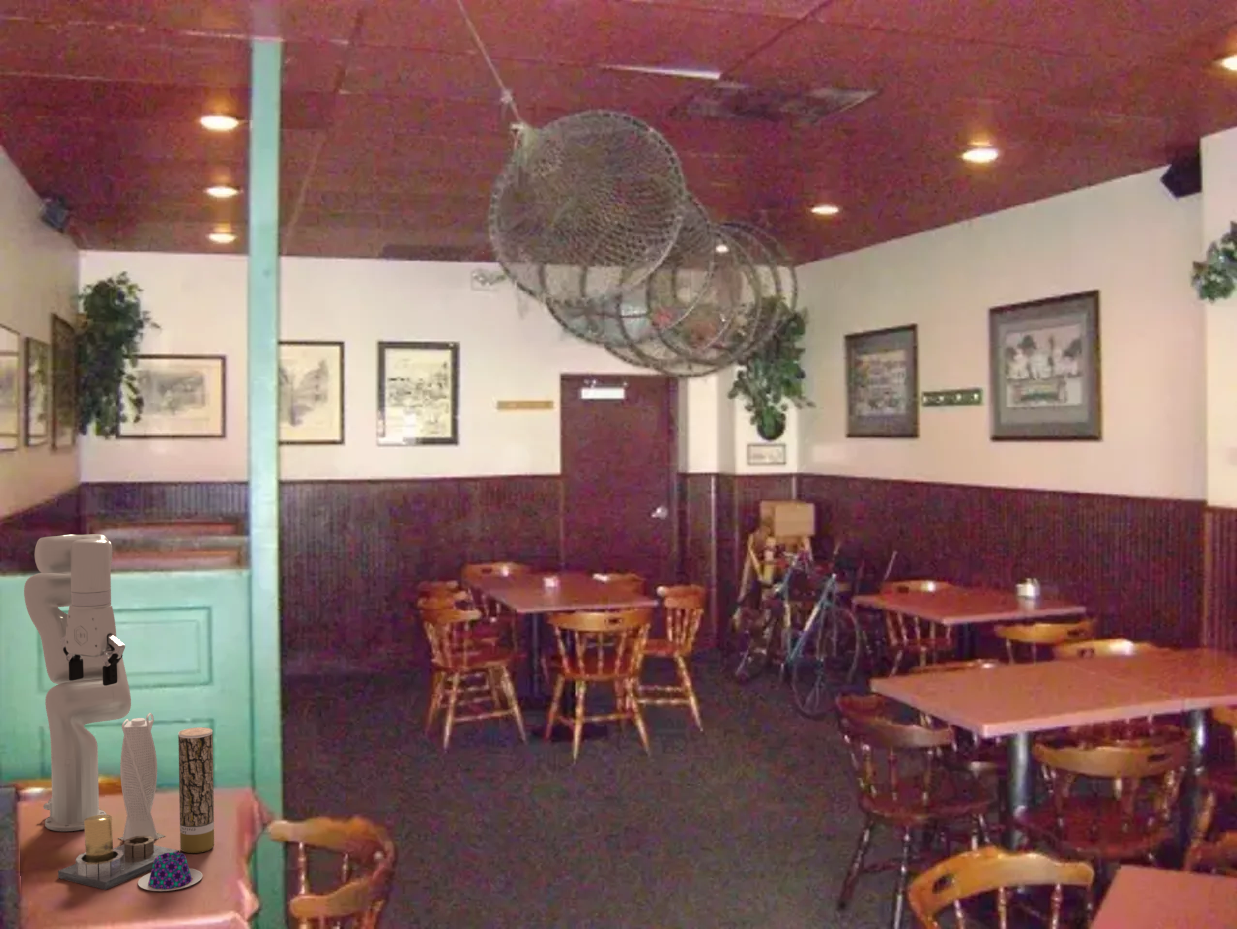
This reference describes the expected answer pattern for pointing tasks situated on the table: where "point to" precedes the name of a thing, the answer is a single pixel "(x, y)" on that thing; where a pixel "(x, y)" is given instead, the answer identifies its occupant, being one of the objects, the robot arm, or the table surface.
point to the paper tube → (196, 789)
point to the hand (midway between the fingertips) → (93, 681)
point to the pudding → (170, 873)
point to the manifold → (116, 864)
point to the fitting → (98, 838)
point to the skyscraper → (138, 777)
